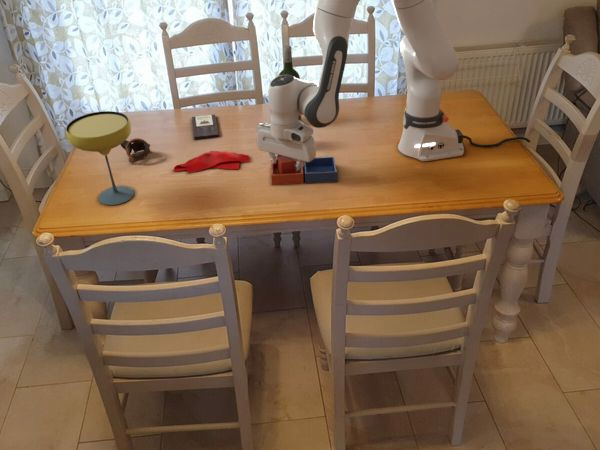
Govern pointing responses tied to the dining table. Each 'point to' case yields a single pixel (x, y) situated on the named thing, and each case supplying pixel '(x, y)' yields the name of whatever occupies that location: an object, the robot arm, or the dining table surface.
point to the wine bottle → (289, 65)
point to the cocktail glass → (102, 144)
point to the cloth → (213, 161)
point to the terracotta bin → (285, 176)
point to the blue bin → (320, 170)
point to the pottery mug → (136, 149)
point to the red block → (286, 165)
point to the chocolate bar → (205, 127)
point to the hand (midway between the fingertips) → (286, 166)
